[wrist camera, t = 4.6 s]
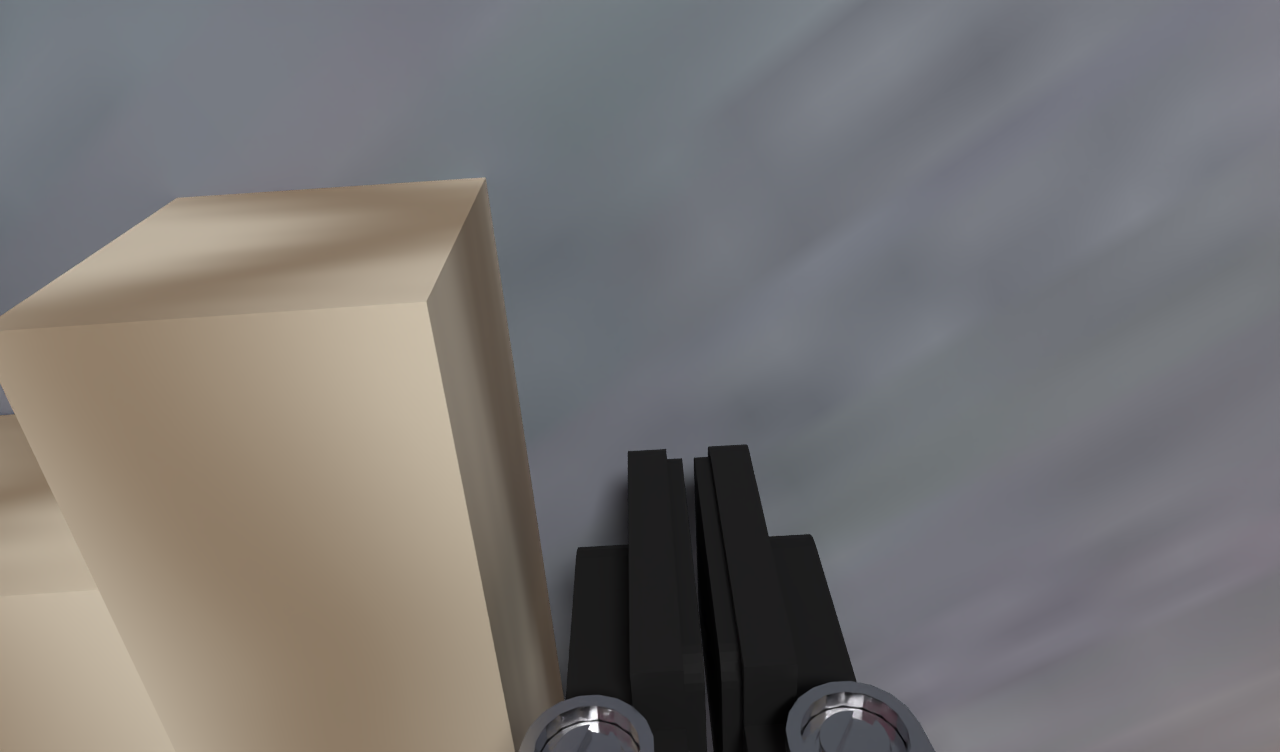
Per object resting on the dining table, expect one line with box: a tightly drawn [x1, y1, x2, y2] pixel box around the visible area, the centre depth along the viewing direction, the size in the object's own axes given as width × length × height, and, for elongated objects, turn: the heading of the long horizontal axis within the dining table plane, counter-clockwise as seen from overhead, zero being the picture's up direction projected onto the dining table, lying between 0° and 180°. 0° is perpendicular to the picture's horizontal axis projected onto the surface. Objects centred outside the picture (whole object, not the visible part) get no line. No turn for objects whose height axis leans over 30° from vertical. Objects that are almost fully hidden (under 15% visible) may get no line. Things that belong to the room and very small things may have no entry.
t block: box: [0, 178, 564, 752], centre depth 12 cm, size 10×10×4 cm
